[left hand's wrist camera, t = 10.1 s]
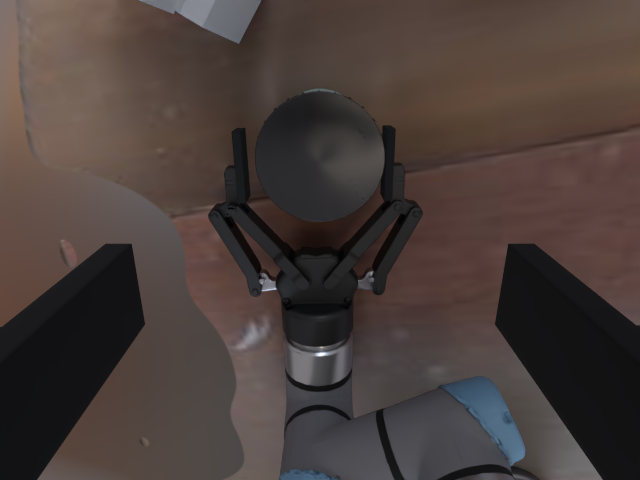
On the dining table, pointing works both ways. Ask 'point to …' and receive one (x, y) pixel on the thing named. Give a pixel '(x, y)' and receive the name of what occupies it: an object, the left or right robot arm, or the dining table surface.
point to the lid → (320, 156)
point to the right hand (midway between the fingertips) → (313, 127)
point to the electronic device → (214, 14)
